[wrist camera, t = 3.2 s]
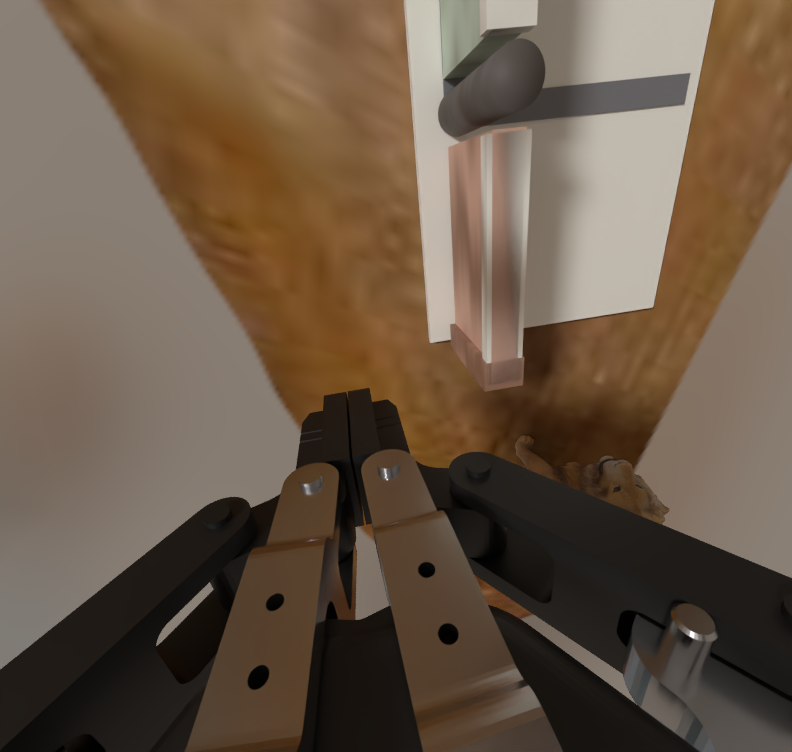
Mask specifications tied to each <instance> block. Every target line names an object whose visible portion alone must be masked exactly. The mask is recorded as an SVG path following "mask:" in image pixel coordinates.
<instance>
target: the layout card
mask: <svg viewBox="0 0 792 752" xmlns="http://www.w3.org/2000/svg"><path fill="white" fill-rule="evenodd" d="M714 2H715V0H538V13H537V25H536V26H535V27H534V28H533V29H532V30H530V31H529V32H527V33H521V34H520V35H519V36H518V37H517V38H515V39H518V38H523V39H527V40H530V41H532V42H533V43H534V44H536V46H537V47H538V48H539V49H540V51H541V53H542V55H543V58H544V62H545V79H544V84H543V87H542V89H541V92H540V93H539V95H538V97H537V98H536V100H535V101H534V102H533V103H532V104H531V105H529V106H528V107H527V108H525V109H523V110H520V111H518V112H516V113H513V114H511V115H509V116H506V117H504V118H502V119H499V120H497V121H495V122H492V123H490V124H488V125H485V126H483V127H481V128H479V129H476V130H474V131H472V132H469V133H467V134H465V135H462V136H459V137H453V136H450V135H448V134H447V133H445V132H444V131H443V129H442V128H441V126H440V123H439V120H438V109H439V105H440V102H441V100H442V99H443V97H444V96H445V95H446V94H447V93H448V92H450V91H451V90H452V89H453V88H454V87H455V86H457V85H458V84H459V83H460V82H461V81H462V80H464V79H465V78H466V77H461V78H451V79H443V57H442V34H441V10H440V0H404V10H405V24H406V37H407V50H408V64H409V77H410V90H411V104H412V117H413V131H414V144H415V157H416V171H417V184H418V197H419V211H420V224H421V238H422V251H423V264H424V278H425V291H426V304H427V318H428V331H429V341H430V343H434V342H440V341H446V340H451V333H450V324H455V305H454V280H453V256H452V231H451V207H450V182H449V158H448V147H450V146H452V145H455V144H457V143H460V142H463V141H465V140H468V139H471V138H473V137H476V136H478V135H481V134H484V133H486V132H489V131H491V130H498V129H506V128H515V127H524V126H527V130H528V129H532V148H531V170H530V193H529V215H528V238H527V260H526V283H525V305H524V328H528V327H534V326H540V325H546V324H553V323H559V322H565V321H571V320H578V319H584V318H590V317H596V316H603V315H609V314H615V313H622V312H628V311H634V310H640V309H647V308H653V305H654V300H655V295H656V290H657V285H658V280H659V275H660V270H661V265H662V260H663V255H664V251H665V246H666V241H667V236H668V231H669V226H670V221H671V216H672V211H673V206H674V201H675V196H676V191H677V186H678V181H679V176H680V171H681V166H682V161H683V156H684V151H685V146H686V141H687V136H688V131H689V126H690V121H691V117H692V112H693V107H694V102H695V97H696V92H697V87H698V82H699V77H700V72H701V67H702V62H703V57H704V52H705V47H706V42H707V37H708V32H709V27H710V22H711V17H712V12H713V7H714Z"/></svg>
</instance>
